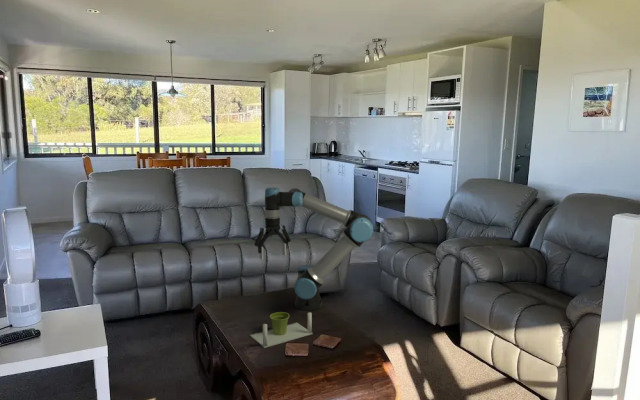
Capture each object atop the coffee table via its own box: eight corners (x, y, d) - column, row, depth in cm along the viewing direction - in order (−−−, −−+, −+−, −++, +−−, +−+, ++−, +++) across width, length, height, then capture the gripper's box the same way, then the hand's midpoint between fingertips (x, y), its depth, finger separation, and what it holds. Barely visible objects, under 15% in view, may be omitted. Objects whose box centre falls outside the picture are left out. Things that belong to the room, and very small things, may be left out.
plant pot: (286, 337, 215) (286, 320, 214) (267, 336, 217) (267, 318, 216) (291, 329, 224) (291, 312, 223) (273, 327, 226) (273, 311, 225)
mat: (296, 323, 233) (296, 303, 231) (312, 334, 220) (312, 313, 219) (250, 335, 218) (249, 315, 217) (264, 347, 206) (263, 325, 204)
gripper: (289, 214, 247) (290, 252, 250) (247, 218, 233) (248, 258, 236) (296, 216, 240) (297, 255, 243) (253, 221, 227) (254, 262, 230)
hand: (273, 257), depth 240 cm, fingers open, 13 cm apart
